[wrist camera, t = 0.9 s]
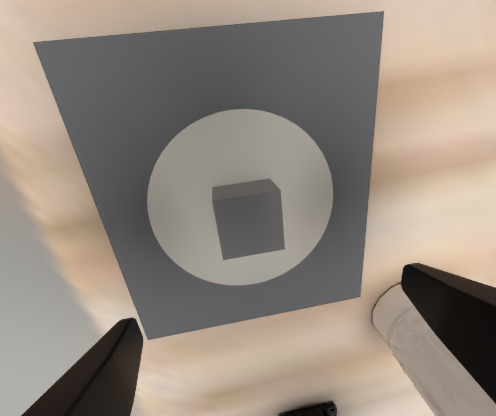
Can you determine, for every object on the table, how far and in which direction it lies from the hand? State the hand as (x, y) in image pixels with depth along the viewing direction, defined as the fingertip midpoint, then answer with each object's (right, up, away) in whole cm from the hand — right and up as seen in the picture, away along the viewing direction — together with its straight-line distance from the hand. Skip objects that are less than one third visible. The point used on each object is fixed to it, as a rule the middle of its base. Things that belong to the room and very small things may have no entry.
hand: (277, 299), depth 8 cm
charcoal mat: (-1, +3, +8) cm, 9 cm away
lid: (-1, +3, +8) cm, 9 cm away
